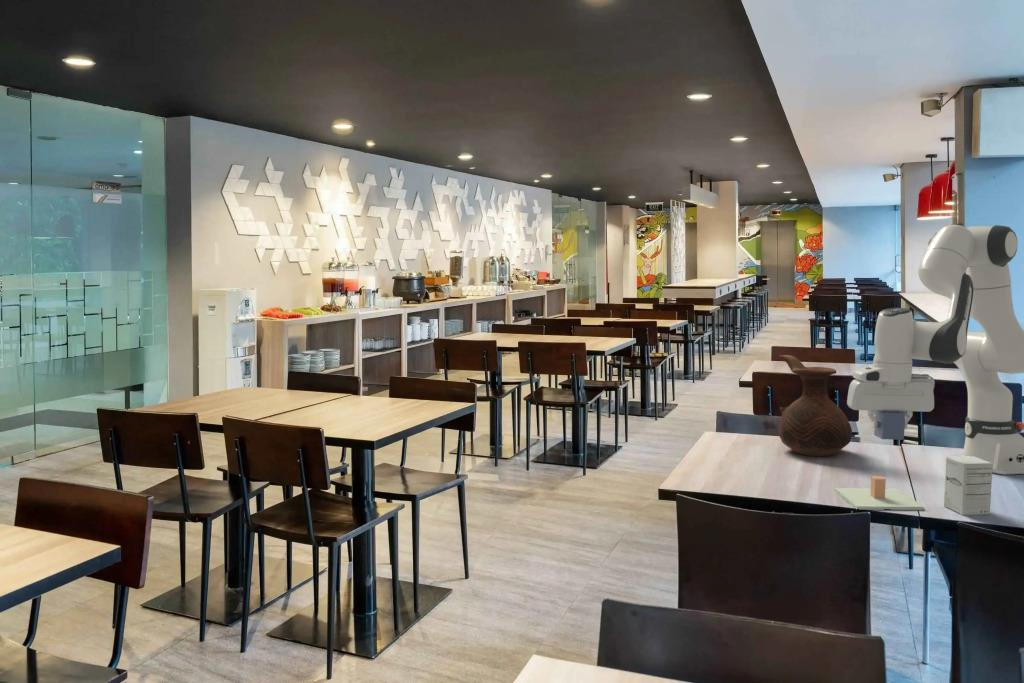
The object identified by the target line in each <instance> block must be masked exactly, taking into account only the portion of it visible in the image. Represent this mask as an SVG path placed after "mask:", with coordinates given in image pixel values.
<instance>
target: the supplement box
mask: <svg viewBox="0 0 1024 683" xmlns="http://www.w3.org/2000/svg"><path fill="white" fill-rule="evenodd" d="M992 468H993V463H990V462H987V461H985V460H982V459H979V458H977V457H974V456H962V455H960V456H959V455H956V456H955V455H954V456H953V455H952V456H946V457H945V476H944V477H945V478H944V480H945V481H944V494H943V507H945V508H948V509H950V510H952V511H954V512H956V513H958V514H959V515H962V516H975V515H976V516H977V515H980V516H981V515H990V514H991V502H992V500H991V499H992V486H993V485H992V484H993V482H992V481H993V472H992Z"/></svg>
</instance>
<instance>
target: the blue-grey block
mask: <svg viewBox="0 0 1024 683" xmlns="http://www.w3.org/2000/svg"><path fill="white" fill-rule="evenodd" d="M903 412H904V411H878V410H876V415H874V416H875V418H876V420H878V421H880V428H874V434H873V435H874V436H876V437H877V438H879V439H881V440H896V441H897V440H905V429H904V428H905V413H903Z"/></svg>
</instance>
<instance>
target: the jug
mask: <svg viewBox="0 0 1024 683" xmlns="http://www.w3.org/2000/svg"><path fill="white" fill-rule="evenodd" d="M779 359H780V360H782V361H784V362H785V363H786V364H787V365H788V367H789V369H790V370H791V372H792V373H793V374H795V375H798V376H799V377H800V378H801V379H800V380H801V381H802V386H803V387H802V389H803V390H802V394H801V396H800V397H799V398H797V399H796V400H794V401H793V402H791V404H790V405H789V406H786V407H785V406H784V407H781V406H780V407H779V409H780V413H781V418H780V422H779V425H778V428H777V429H778V437H779V438H780V440H781V442H782V444H783V445H785V446H786V447H787V448H789V449H790V450H793V451H795V453H797V454H799V453H800V455H805V456H813V457H827V456H832V455H835V454H837V453H838V452H840V451H841V450H842V449H844V448H845V447H846V446H848V445H849V444H850V442H851V440H852V437H853V429H852V426H851V423H850V422H849V420H848V418H847V416H846V414H845V413H844V411H843V410H842V409H841V408H840V407H839V406H838V405H837V404H836V403H835V402H834V401H832V400H831V399H830V398H829V395H828V391H827V388H828V387H827V384H828V379H829V377H830V376H832V375H835V374H837V369H835V368H832V367H824V366H805V365H804V363H803V362H801V361H800V360H799V359H798V358H797V357H795V356H793V355H790V354H781V355H779Z"/></svg>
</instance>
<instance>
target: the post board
mask: <svg viewBox="0 0 1024 683" xmlns="http://www.w3.org/2000/svg"><path fill="white" fill-rule="evenodd" d="M835 491H836V492H837V493H836V492H835ZM834 492H835V493H836V494H838V495H839V496H840V497H841V498H842V497H843V498H844V499H843V498H842V499H843V500H845V502H847V501H848V502H849V503H850V506H852V507H853V506H854V507H855V508H856V509H855V508H854V507H853V508H854V509H855V510H857V509H859V510H865V511H870V510H871V511H872V510H873V511H878V510H879V511H885V510H884V509H891V510H890V511H925V506H924V505H922V504H920V503H919V502H918V501H917V500H915V499H913V498H912V497H911V496H909V495H907V494H906V493H904V492H903V491H902V490H900V489H899V488H895V487H893V488H891V487H888V488H886V478H885V477H883V476H880V475H877V476H874V475H873V476H870V487H834ZM848 502H847V503H848ZM849 503H848V504H849ZM859 510H858V511H859Z"/></svg>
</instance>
